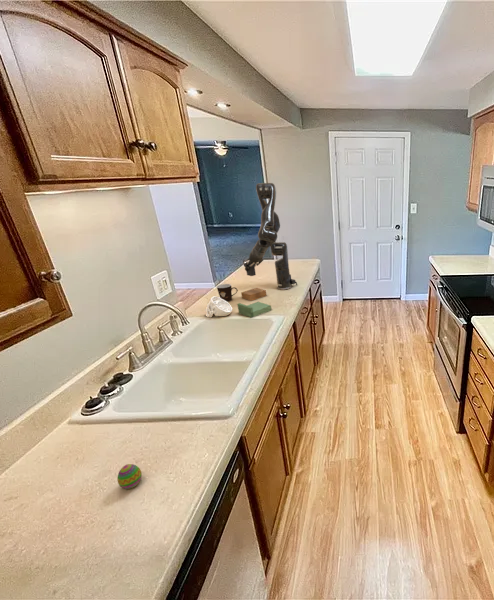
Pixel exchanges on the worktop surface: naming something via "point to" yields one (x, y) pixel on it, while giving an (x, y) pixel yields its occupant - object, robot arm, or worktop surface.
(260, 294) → the brown wooden block
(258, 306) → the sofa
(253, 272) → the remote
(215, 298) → the skull bowl
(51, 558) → the worktop surface
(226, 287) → the coffee mug
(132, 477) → the egg
